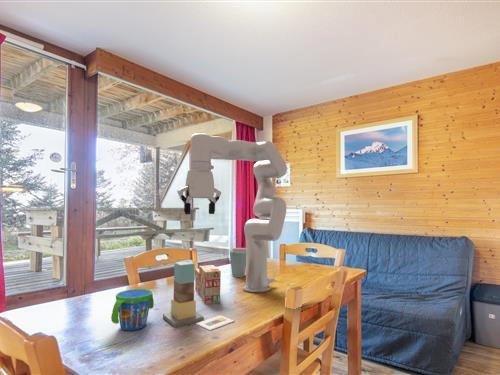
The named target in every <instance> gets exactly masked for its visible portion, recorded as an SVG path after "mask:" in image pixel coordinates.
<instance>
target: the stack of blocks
mask: <svg viewBox="0 0 500 375" xmlns="http://www.w3.org/2000/svg"><path fill="white" fill-rule="evenodd" d="M198 266H199V267H198V268H195V269H194V290H195V291H196V292H197V294H198V296H199V297H200V299H201V300H202V303H203V304H207V305H208V304H214V303H215V304H216V303H221V276H222V275H221V270H220V268H218V267H217V266H215V265H214V264H207V265H198Z"/></svg>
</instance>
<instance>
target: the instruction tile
mask: <svg viewBox="0 0 500 375" xmlns="http://www.w3.org/2000/svg"><path fill="white" fill-rule="evenodd" d="M234 322H235V320H234V319H232V318H228V317H225V316H223V315H221V314H220V315H217V316H213V317H211V318H207V319H205V320H204V321H200V322H195V325H197V326H199V327H200V328H203V329H206V330H208V331H213V330H215V329H218V328H220V327H224V326H225V325H229V324H231V323H234Z"/></svg>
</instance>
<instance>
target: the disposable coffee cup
mask: <svg viewBox="0 0 500 375" xmlns="http://www.w3.org/2000/svg"><path fill="white" fill-rule="evenodd" d="M228 253H229V257H230V258H229V259H230V267H231V268H230V269H231V275H232V277H236V278H243V277H244V276H245V275H246V247H232V248H230V249H229V252H228Z"/></svg>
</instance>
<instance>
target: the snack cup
mask: <svg viewBox="0 0 500 375" xmlns="http://www.w3.org/2000/svg"><path fill="white" fill-rule="evenodd" d="M153 295H154V294H153V291H152V290H150V289H147V288H146V289H144V288H135V289H126V290H122V291H120V292H118V293H117V294H115V302H114V304H113V309H112V312H111V318H110V319H111V322H112V323H113V324H115V325H117V324H119V326H120V328H121V329H122V330H123V331H134V330H135V331H136V330H139V329H140V330H141V329H142V328H144V327H145V326H146V325H147V322H148V316H149V313H150V312H149V311H150V309H153V308H154V305H155V303H154V302H155V301H154V296H153Z"/></svg>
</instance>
